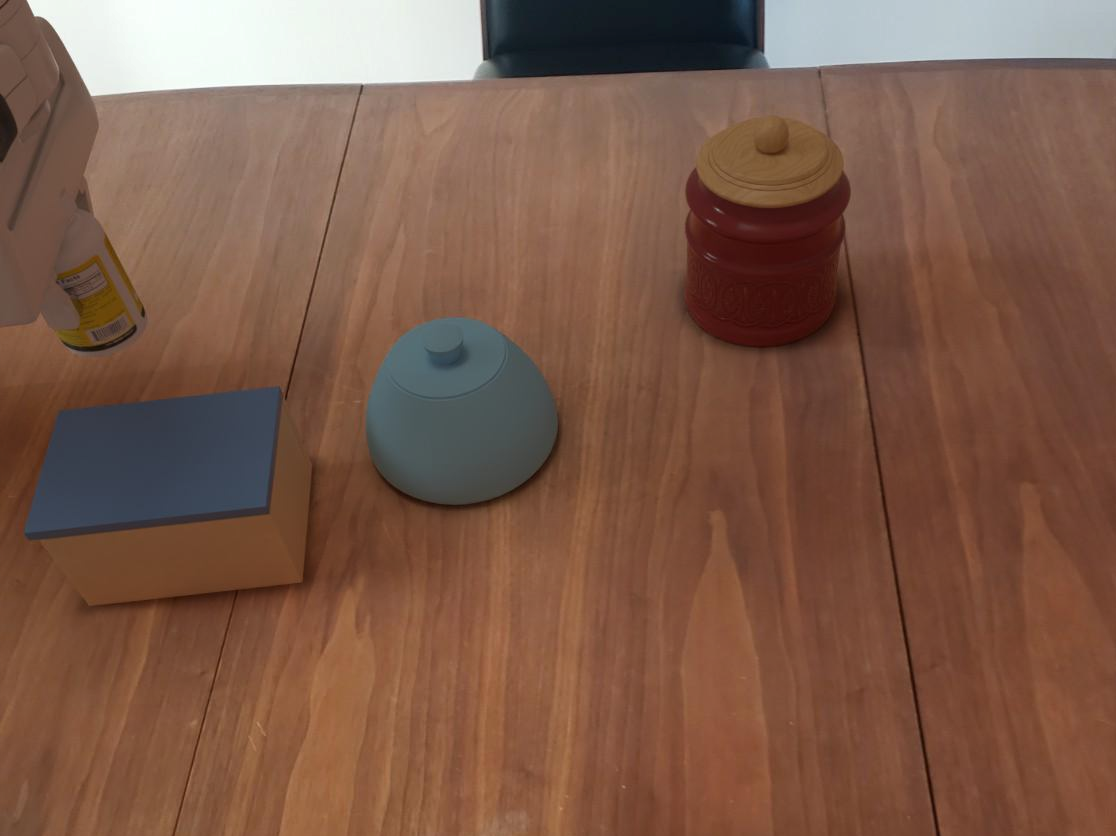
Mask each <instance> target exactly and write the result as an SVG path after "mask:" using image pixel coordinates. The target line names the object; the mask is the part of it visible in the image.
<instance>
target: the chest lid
mask: <svg viewBox="0 0 1116 836" xmlns="http://www.w3.org/2000/svg"><path fill="white" fill-rule="evenodd" d="M283 395H284V393H283V391H282V388H281V386H269V387H260V388H253V389H252V388H251V389H243V390H234V391H226V392H224V391H223V392H216V393H205V394H197V395H187V396H180V397H179V396H178V397H169V398H161V399H151V400H143V401H134V402H125V403H116V404H107V405H97V406H89V407H88V406H87V407H79V408H69V409H61V410H58V411H57V414H56V417H55V422H54V425H53V428H52V431H51V435H50V438H49V442H48V446H47V448H46V449H47V450H46V453H45V456H44V460H43V463H42V467H41V469H40V474H39V477H38V479H37V480H38V481H37V484H36V487H35V491H34V495H33V498H32V502H31V505H30V508H29V513H28V516H27V519H26V524H25V527H24V529H23V535H24V536H25V538H26V539H27V540H28V541H36V540H38V541H39V539H47V538H56V537H65V536H74V535H83V534H92V533H101V532H110V531H119V530H128V529H137V528H146V527H155V526H164V525H173V524H182V523H191V522H200V521H209V520H218V519H227V518H236V517H245V516H254V515H263V514H269V513H270V505H271V496H272V487H273V478H274V469H275V461H276V452H277V443H278V434H279V425H280V416H281V407H282V398H283Z"/></svg>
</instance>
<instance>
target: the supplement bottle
mask: <svg viewBox="0 0 1116 836" xmlns="http://www.w3.org/2000/svg"><path fill="white" fill-rule="evenodd" d="M61 202H62V204H63V206H64V208H65V210H66V211H67V218H68V220H69V221H68V225H67V228H66V232H65V235H64V238H63V241H62V244H61V247H60V250H59V254H58V257H57V260H56V263H55V266H54V270H55V272H56V273H57V279H56V281H55V282H56V284H58V285H59V286H60V287H61V288H62V289H69V288H73V289H74V291H75V293H76V294H77V296H78V299H79V302H80V303H82V305H83V307H84V308H83V312H82V316H81V321H80V325H79V327H78V328H76V329H70V330H61V331H57V330H54V332H55V334H56V335H57V337H58V338H59V339H60V340H59V341H61V343H62V344H63V346H64V347H65V348H66V349H67V350H68V351H69V352H70V353H72V354H74V355H76V356H79V357H82V358H89V359H90V358H92V359H96V358H105V357H109V356H112V355H116V354H118V353H121V352H123V351H125V350H127V349H128V348H130V347H132V345H134V344H135V343H137V341H138V340H139V339H140V338H141V337H142V336H143V334H144V333H145V331H146V329H147V325H148V314H147V311H146V309H145V307H144V304H143V303H142V301H141V299H140V297H139V295H138V293H137V291H136V289H135V287H134V285H133V283H132V281H131V280H130V277H129V275H128V274H127V272H126V270H125V268H124V266H123V264H122V262H121V261H120V258H119V256H118V254H117V252H116V251H115V248H114V247H113V244H112V243H111V240H110V239H109V237H108V234H107V233H106V232H105V230H104V227H103V226H102V224H101V223H100V221H99V220H98V219H97V218H96V216H95V215H94V216H93V215H92V214H90V213H88V212H87V211H84V210H82V209H78V208H77V205H76V203H75V201H74V199H73V197H72V196H71V194H70V192H69V190H68V188H67V187H66V186H65V188H64V191H63V194H62V198H61Z"/></svg>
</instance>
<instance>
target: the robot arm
mask: <svg viewBox="0 0 1116 836" xmlns="http://www.w3.org/2000/svg"><path fill="white" fill-rule="evenodd" d="M99 128H100V123H99V117H98V112H97V108H96V104H95V101H94V99H93V96H92V94H91V93H90V91H89V89H88V87H87V85H86V82H85V81H84V79H83V77H82V75H81V73H80V72H79V70H78V67H77V65H76V64H75V62H74V60H73V58H72V56H71V55H70V53H69V51H68V49H67V47H66V46H65V44H64V42H63V40H62V38H61V37H60V35H59V34H58V32H57V31H56V29H55V28H54V27H53V25H52V24H51V23H50V21H48V20H47V19H46V18H45V17H43V16H40V15H39V16H38V15H36V16H35V14H34V12H33V10H32V9H31V6H30V3H29V2H28V0H0V328H1V329H2V328H9V327H19V326H24V325H26V326H27V325H30V324H33V323H35V322H36V321H37V320H38V318H39V317H40V314H41V316H42V317H43V319H44V321H45V322H46V325H47V326H48V328H50V329H51V330H54V331H55V330H57V331H61V330H70V329H76V328H78V327H79V325H80V321H81V316H82V312H83V308H84V307H83V305H82V303H80V302H79V299H78V296H77V294H76V293H75V291H74V289H73V288H69V289H62V288H61V287H60V286H59V285H58V284H56V282H55V281H56V279H57V273H56V272H55V270H54V266H55V263H56V260H57V257H58V254H59V250H60V247H61V244H62V241H63V238H64V235H65V232H66V228H67V225H68V221H69V220H68V218H67V211H66V210H65V208H64V206H63V204H62V202H61V198H62V194H63V191H64V188H65V186H66V187H67V188H68V190H69V192H70V194H71V196H72V197H73V199H74V201H75V203H76V205H77V208H78V209H82V210H84V211H87V212H88V213H90V214H92V215H93V216H94V217H95V214H94V213H95V212H94V209H93V203H92V199H91V194H90V189H89V184H88V181H87V180H86V177H85V172H86V168H87V166H88V162H89V159H90V156H91V153H92V150H93V147H94V144H95V140H96V138H97V135H98V131H99Z"/></svg>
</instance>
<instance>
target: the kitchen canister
mask: <svg viewBox="0 0 1116 836" xmlns="http://www.w3.org/2000/svg"><path fill="white" fill-rule="evenodd" d="M844 164H845V163H844V156H843V152H842V151H841V149H840V147H839V146H838V145H837V143H836V142H835V141H834V140H833V139H832V138H830V137H829V136H828V135H826V134H825V133H823V132H821V131H820V130H818V129H816V128H814V127H812V126H811V125H809V124H807V123H805V122H802V121H799V120H797V119H792V118H788V117H787V118H786V117H781V116H779V115H773V114H771V115H766V116H762V117H755V118H750V119H746V120H743V121H740V122H738V123H735V124H733V125H731V126H729V127H726V128H724V129H722V130H721V131H719V132H717V133H715V134H714V135H712V136H711V137H710V138H708V140H706V141H705V143H703V145H702V146H701V148H700V149H699V151H698V153H697V155H696V162H695V167H694V168H693V169H692V171H691V172H690V174H689V176H688V178H687V180H686V183H685V189H684V195H685V199H686V200H685V201H686V204H687V207H688V208H689V211H688V213H687V215H686V218H685V222H684V234H685V237H686V277H685V279H684V280H685V281H684V301H685V306H686V308H687V309H686V310H687V312H688V313H689V315H690V316H691V318H692V319H693V321H694V322H695V323H696V324H697V326H699V328H701V329H702V330H703V331H705V332H706V333H708V334H709V335H711V336H713V337H715V338H716V339H719V340H721V341H724V342H727V343H730V344H733V345H737V346H744V347H750V348H751V347H753V348H767V347H768V348H769V347H776V346H778V347H779V346H783V345H787V344H791V343H794V342H798V341H801V339H804V338H807V337H808V336H810V335H812V334H813V333H815V332H816V331H817V330H819V329H820V328H821V327H822V326H823V325H824V324H825V323H826V321H827V320H828V319H829V317H830V315H831V314H832V312H833V310H834V307H835V304H836V296H837V290H838V289H837V288H838V286H837V276H838V270H839V269H838V268H839V263H840V262H839V261H840V255H841V248H842V244H843V242H844V239H845V235H846V219H845V217H844V213H845V211H846V209H847V208H848V206H849V203H850V201H851V195H852V187H851V183H850V180H849V177H848V175H847V173H846V171H844V166H845V165H844Z"/></svg>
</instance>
